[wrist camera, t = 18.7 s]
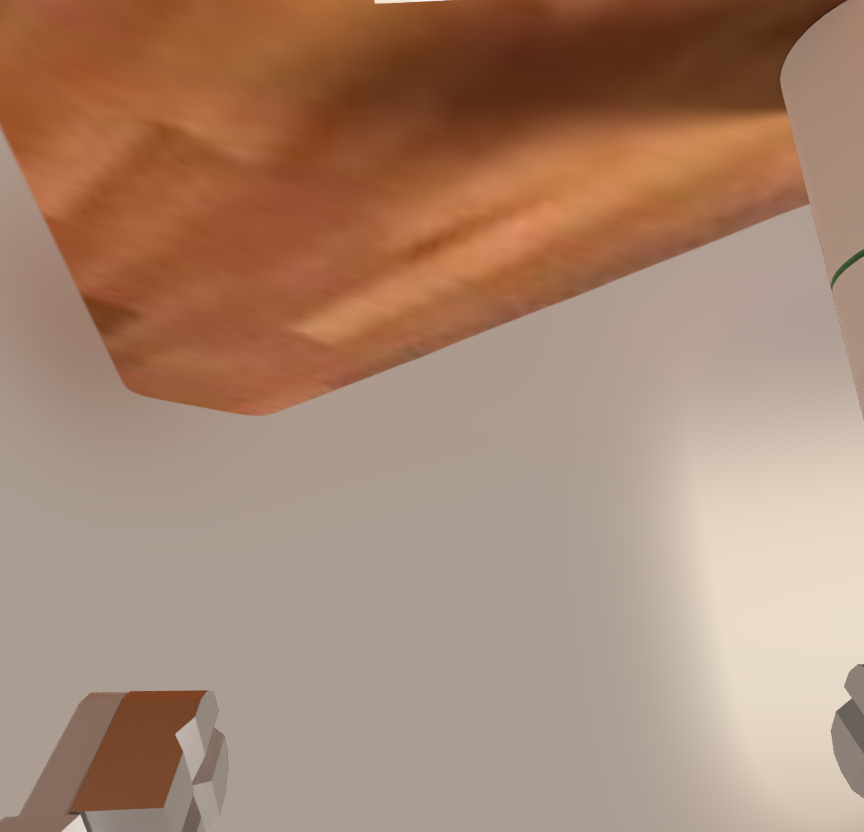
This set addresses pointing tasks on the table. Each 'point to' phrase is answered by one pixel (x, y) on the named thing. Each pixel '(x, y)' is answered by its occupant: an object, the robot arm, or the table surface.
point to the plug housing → (396, 0)
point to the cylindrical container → (834, 156)
